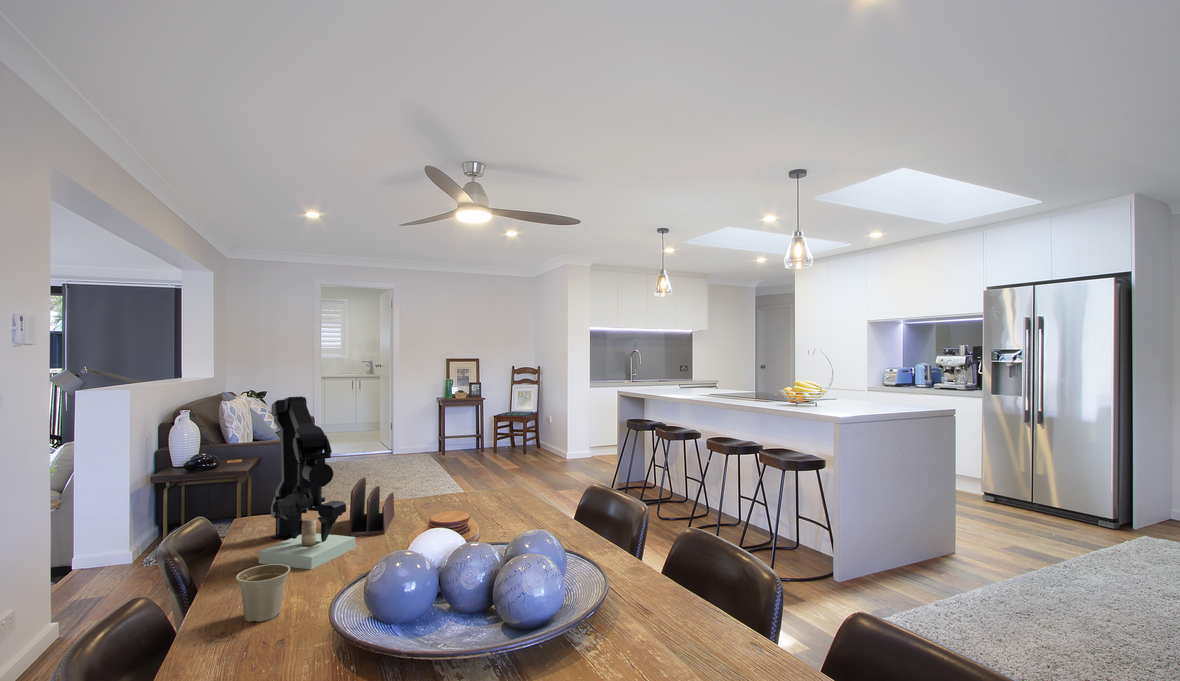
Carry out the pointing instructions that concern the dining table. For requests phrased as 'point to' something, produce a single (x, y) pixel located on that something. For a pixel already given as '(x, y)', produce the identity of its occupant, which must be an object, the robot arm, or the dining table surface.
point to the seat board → (306, 551)
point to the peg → (308, 533)
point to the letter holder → (369, 511)
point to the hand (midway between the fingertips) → (309, 539)
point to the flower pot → (262, 591)
